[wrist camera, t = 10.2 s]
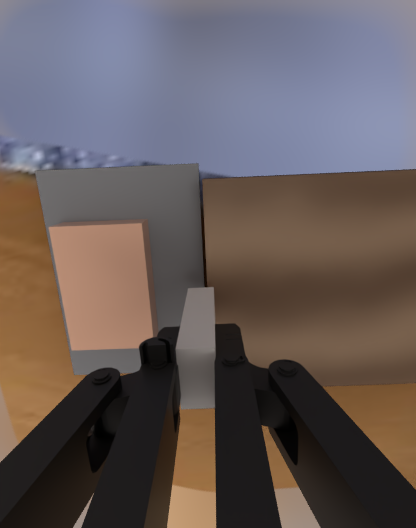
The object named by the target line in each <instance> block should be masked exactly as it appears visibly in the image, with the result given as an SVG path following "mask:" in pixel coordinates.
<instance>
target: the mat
mask: <svg viewBox="0 0 416 528" xmlns="http://www.w3.org/2000/svg"><path fill="white" fill-rule="evenodd" d="M35 174H36V179H37V184H38V189H39V195H40V200H41V205H42V210H43V215H44V221H45V226H46V231H47V236H48V241H49V247H50V252H51V257H52V262H53V267H54V273H55V278H56V283H57V288H58V293H59V299H60V304H61V309H62V314H63V319H64V325H65V330H66V335H67V340H68V345H69V351H70V356H71V361H72V366H73V371H74V375H87V374H90V373H91V372H93V371H95V370H97V369H100V368H108V367H112V368H115V369H117V370H118V371H119V372H120V373H134V372H137V371H139V370H140V367H141V359H140V351H139V348H130V349H101V350H73V351H72V350H71V344H70V339H69V334H68V328H67V323H66V318H65V312H64V307H63V302H62V296H61V291H60V286H59V280H58V275H57V270H56V264H55V259H54V254H53V248H52V243H51V238H50V232H49V227H50V226H53V225H56V224H59V223H62V222H85V221H109V220H134V219H148V228H149V238H150V249H151V259H152V269H153V280H154V290H155V301H156V311H157V322H158V332H159V331H160V330H161V329H162V328H164V327H177V326H180V325H181V320H182V315H183V311H184V306H185V301H186V296H187V291H188V288H204V268H203V248H202V227H201V207H200V187H199V168H198V164H175V165H153V166H131V167H109V168H87V169H65V170H43V171H35Z"/></svg>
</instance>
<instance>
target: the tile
mask: <svg viewBox="0 0 416 528" xmlns="http://www.w3.org/2000/svg"><path fill="white" fill-rule="evenodd" d="M49 232H50V238H51V243H52V248H53V254H54V259H55V264H56V270H57V275H58V280H59V286H60V291H61V296H62V302H63V307H64V312H65V318H66V323H67V328H68V334H69V339H70V344H71V350H72V351H73V350H101V349H130V348H139V345H140V344H141V343H142V342H143V341H145V340H146V339H149V338H152V337H157V334H158V322H157V311H156V301H155V290H154V280H153V269H152V259H151V249H150V238H149V228H148V219H134V220H109V221H85V222H62V223H59V224H56V225H53V226H50V227H49Z"/></svg>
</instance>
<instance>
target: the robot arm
mask: <svg viewBox="0 0 416 528" xmlns="http://www.w3.org/2000/svg"><path fill="white" fill-rule="evenodd" d="M139 351H140V359H141V367H140V370H139V371H137V372H134V373H131V374H127V375H123V376H120V372H119V371H118V370H117V369H115V368H112V367H108V368H100V369H97V370H95V371H93V372H91V373H90V374H88V375H87V376H86V377H85V378H84V379H83V380H82V381H81V382H80V383H79V384H78V385H77V386H76V387H75V388H74V389H73V390H72V391H71V392H70V393H69V394H68V395H67V396H66V397H65V398H64V399H63V400H62V401H61V402H60V403H59V404H58V405H57V406H56V407H55V408H54V409H53V410H52V411H51V412H50V413H49V414H48V415H47V416H46V417H45V418H44V419H43V420H42V421H41V422H40V423H39V424H38V425H37V426H36V427H35V428H34V429H33V430H32V431H31V432H30V433H29V434H28V435H27V436H26V437H25V438H24V439H23V440H22V441H21V442H20V443H19V444H18V445H17V446H16V447H15V448H14V449H13V450H12V451H11V452H10V453H9V454H8V455H7V457H5V458H4V459H3V460H2V461H1V462H0V528H73V526H74V525H75V523H76V521H77V520H78V518H79V516H80V515H81V513H82V512H83V510H84V508H85V507H86V505H87V503H88V501H89V500H90V498H91V497H92V495H93V493H94V495H93V497H92V500H91V503H90V506H89V509H88V511H87V514H86V517H85V519H84V522H83V525H82V527H81V528H167V521H168V513H169V505H170V497H171V489H172V481H173V473H174V465H175V457H176V449H177V441H178V433H179V425H180V412H179V406H180V403H181V409H203V408H215V454H216V528H282V527H281V522H280V517H279V512H278V507H277V502H276V497H275V492H274V486H273V481H272V476H271V471H270V466H269V461H268V456H267V451H266V446H265V441H264V436H263V431H262V426H261V425H263V426H268V428H269V432H270V434H271V436H272V438H273V440H274V441H275V443H276V445H277V447H278V449H279V451H280V453H281V454H282V456H283V458H284V460H285V462H286V464H287V466H288V468H289V469H290V471H291V473H292V475H293V477H294V479H295V481H296V482H297V484H298V486H299V488H300V490H301V492H302V494H303V496H304V497H305V499H306V501H307V503H308V505H309V507H310V509H311V510H312V512H313V514H314V516H315V518H316V520H317V522H318V523H319V525H320V527H321V528H416V490H415V489H414V488H413V486H412V485H411V484H410V483H409V482H408V481H407V480H406V479H405V478H404V477H403V475H402V474H401V473H400V472H399V471H398V470H397V469H396V468H395V467H394V466H393V464H392V463H391V462H390V461H389V460H388V459H387V458H386V457H385V456H384V455H383V453H382V452H381V451H380V450H379V449H378V448H377V447H376V446H375V445H374V444H373V442H372V441H371V440H370V439H369V438H368V437H367V436H366V435H365V434H364V433H363V431H362V430H361V429H360V428H359V427H358V426H357V425H356V424H355V423H354V422H353V420H352V419H351V418H350V417H349V416H348V415H347V414H346V413H345V412H344V411H343V409H342V408H341V407H340V406H339V405H338V404H337V403H336V402H335V401H334V400H333V398H332V397H331V396H330V395H329V394H328V393H327V392H326V391H325V390H324V389H323V387H322V386H321V385H320V384H319V383H318V382H317V381H316V380H315V379H314V378H313V376H312V375H311V374H310V373H309V372H308V371H307V370H306V369H305V368H304V367H303V366H302V365H301V364H300V363H298V362H295V361H293V360H288V359H282V360H276V361H274V362H272V363H271V364H270V365H269V368H262V367H258V366H255V365H253V364H251V363H250V362H249V360H248V358H247V357H246V355H245V350H244V345H243V340H242V335H241V329H240V327H239V326H238V325H236V324H235V323H228V324H216V321H215V302H214V287H205V288H188V291H187V296H186V301H185V306H184V311H183V315H182V320H181V325H180V326H177V327H164V328H162V329H161V330H160V331H159V332H158V334H157V337H152V338H149V339H146V340H145V341H143V342H142V343H141V344H140V345H139Z"/></svg>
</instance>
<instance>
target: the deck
mask: <svg viewBox="0 0 416 528" xmlns="http://www.w3.org/2000/svg"><path fill="white" fill-rule="evenodd" d="M202 183H203V205H204V226H205V248H206V269H207V287H214V302H215V321H216V324H228V323H235V324H236V325H238V326H239V327H240V329H241V335H242V340H243V345H244V350H245V355H246V357H247V358H248V360H249V362H250V363H251V364H253V365H255V366H258V367H262V368H269V365H270V364H271V363H272V362H274V361H276V360H282V359H288V360H293V361H295V362H298V363H300V364H301V365H302V366H303V367H304V368H305V369H306V370H307V371H308V372H309V373H310V374H311V375H312V376H313V378H314V379H315V380H316V381H317V382H318V383H319V384H320V385H321V386H350V385H379V384H407V383H416V169H412V170H411V169H410V170H387V171H365V172H344V173H320V174H300V175H277V176H276V175H275V176H253V177H231V178H208V179H202Z"/></svg>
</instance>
